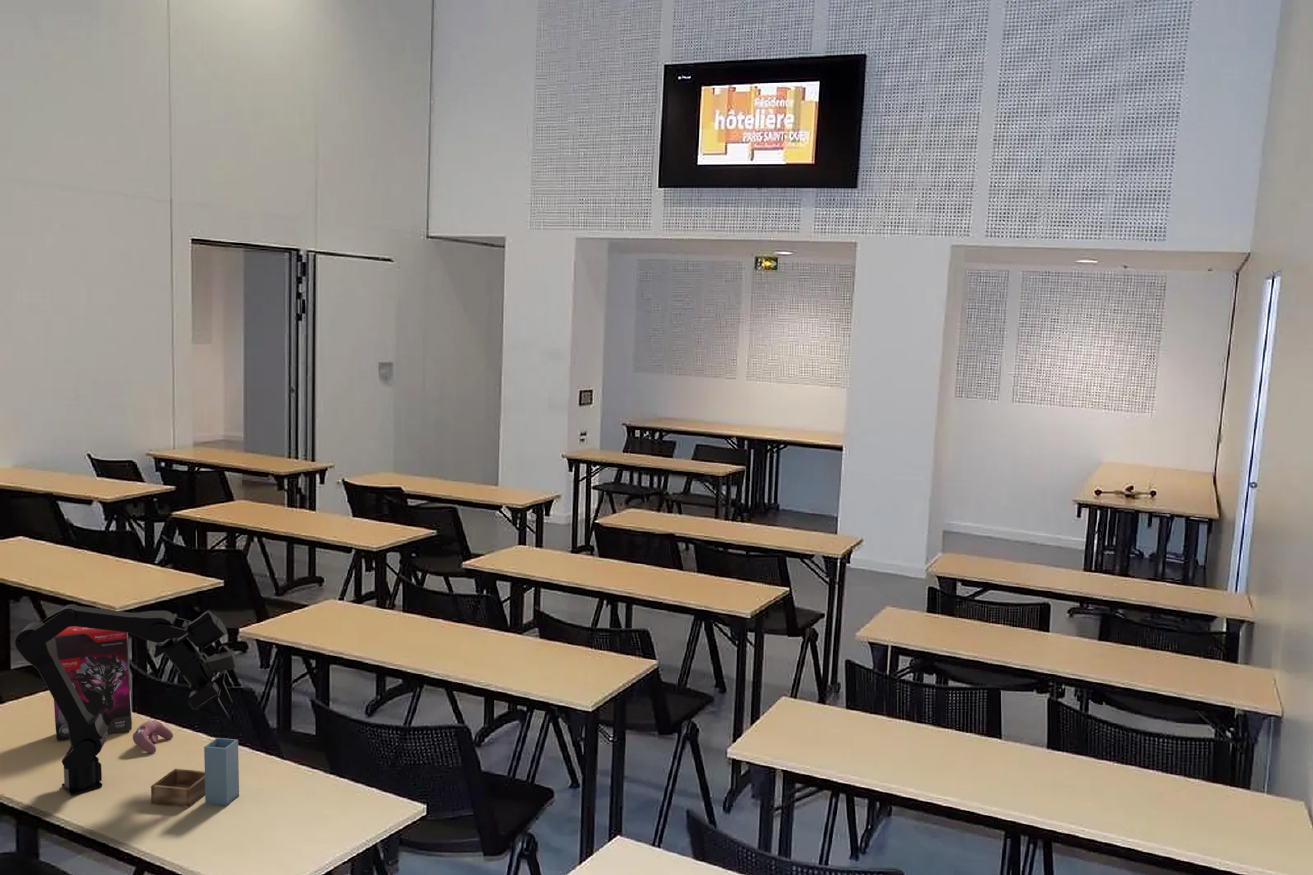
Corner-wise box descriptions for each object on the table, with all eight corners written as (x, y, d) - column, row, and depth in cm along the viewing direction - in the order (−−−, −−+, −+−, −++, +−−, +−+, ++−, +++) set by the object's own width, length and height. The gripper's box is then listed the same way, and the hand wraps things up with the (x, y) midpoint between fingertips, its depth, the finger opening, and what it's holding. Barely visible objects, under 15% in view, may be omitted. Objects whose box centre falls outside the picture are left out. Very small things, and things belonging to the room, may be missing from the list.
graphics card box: (54, 743, 255) (49, 635, 252) (55, 732, 261) (51, 627, 258) (132, 732, 263) (129, 627, 260) (131, 722, 269) (128, 619, 266)
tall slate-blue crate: (205, 804, 226) (204, 747, 225) (218, 793, 231) (216, 737, 230) (227, 806, 226) (225, 748, 224) (239, 795, 231) (238, 739, 229)
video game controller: (160, 743, 261) (146, 719, 260) (175, 736, 260) (162, 711, 260) (139, 760, 251) (125, 734, 250) (155, 752, 250) (142, 727, 250)
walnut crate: (151, 803, 226) (150, 786, 225) (175, 785, 235) (175, 768, 234) (189, 807, 225) (189, 789, 224) (212, 789, 234) (212, 772, 233)
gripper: (214, 651, 229) (257, 705, 233) (223, 626, 246) (262, 677, 251) (169, 681, 227) (212, 735, 231) (180, 654, 244) (221, 705, 249)
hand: (229, 711), depth 240 cm, fingers open, 9 cm apart
